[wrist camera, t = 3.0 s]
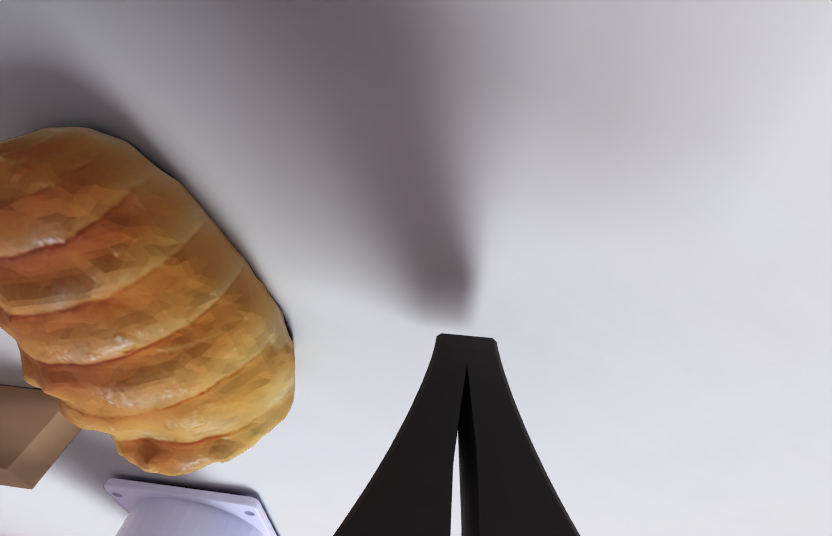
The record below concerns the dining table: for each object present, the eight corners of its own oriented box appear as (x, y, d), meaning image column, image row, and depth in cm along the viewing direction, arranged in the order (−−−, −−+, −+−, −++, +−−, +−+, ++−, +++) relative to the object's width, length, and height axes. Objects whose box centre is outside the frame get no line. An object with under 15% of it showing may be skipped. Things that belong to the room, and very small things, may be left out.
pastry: (-48, 134, 10) (-273, 215, 7) (199, 94, 9) (53, 173, 6) (159, 379, 16) (84, 483, 13) (328, 377, 14) (289, 493, 11)
